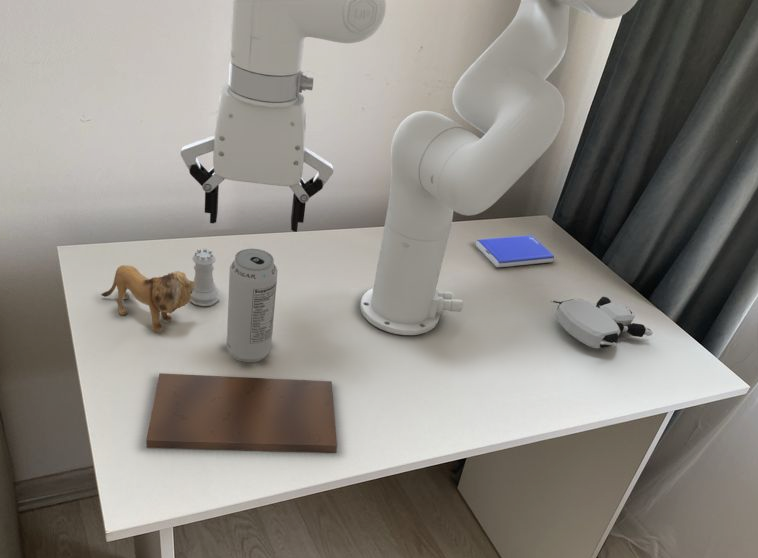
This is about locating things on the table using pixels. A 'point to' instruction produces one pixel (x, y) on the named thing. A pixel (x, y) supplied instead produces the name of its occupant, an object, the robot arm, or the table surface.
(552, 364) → the table surface
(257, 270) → the energy drink can
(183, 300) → the lion figurine
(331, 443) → the serving board
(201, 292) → the rook chess piece
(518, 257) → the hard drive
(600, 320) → the robot toy
